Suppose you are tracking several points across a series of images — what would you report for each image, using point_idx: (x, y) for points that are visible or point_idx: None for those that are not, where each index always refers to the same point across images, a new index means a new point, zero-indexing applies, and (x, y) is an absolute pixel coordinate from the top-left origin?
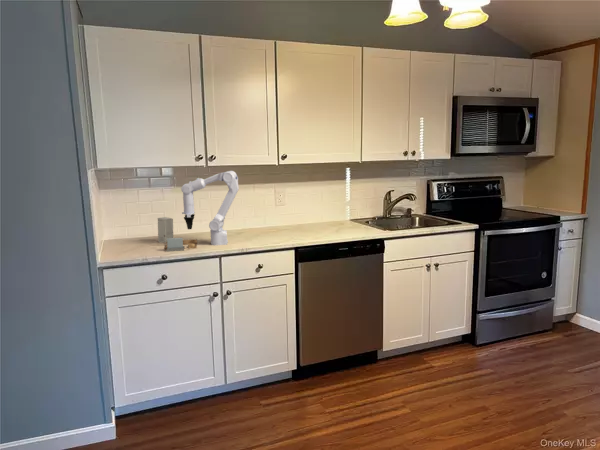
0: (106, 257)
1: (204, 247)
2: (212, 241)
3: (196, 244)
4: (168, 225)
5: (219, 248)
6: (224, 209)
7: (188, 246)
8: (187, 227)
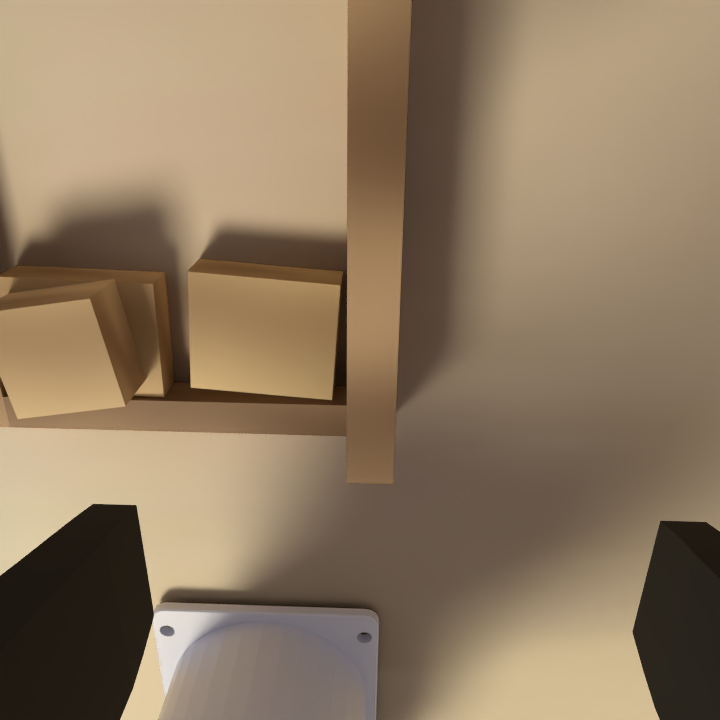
0: None
1: (185, 521)
2: (179, 701)
3: (280, 428)
4: None
5: None
6: None
7: (93, 284)
8: (37, 549)
